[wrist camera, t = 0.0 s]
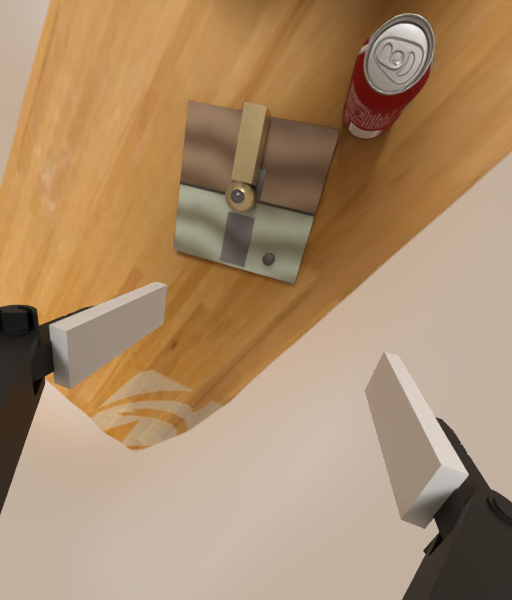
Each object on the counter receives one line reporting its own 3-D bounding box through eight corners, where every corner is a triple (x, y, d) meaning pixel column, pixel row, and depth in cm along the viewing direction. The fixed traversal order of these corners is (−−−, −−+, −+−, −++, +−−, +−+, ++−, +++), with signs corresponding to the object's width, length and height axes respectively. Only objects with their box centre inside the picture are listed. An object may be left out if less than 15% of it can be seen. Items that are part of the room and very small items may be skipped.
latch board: (192, 104, 37) (183, 95, 34) (339, 132, 34) (341, 125, 31) (177, 248, 45) (168, 250, 42) (294, 282, 42) (293, 286, 39)
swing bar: (253, 214, 38) (247, 214, 35) (229, 208, 39) (220, 207, 35) (274, 116, 33) (269, 104, 30) (246, 110, 34) (238, 98, 30)
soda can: (374, 150, 33) (403, 117, 22) (332, 124, 34) (340, 78, 22) (411, 96, 31) (464, 28, 20) (365, 67, 31) (393, -16, 20)
